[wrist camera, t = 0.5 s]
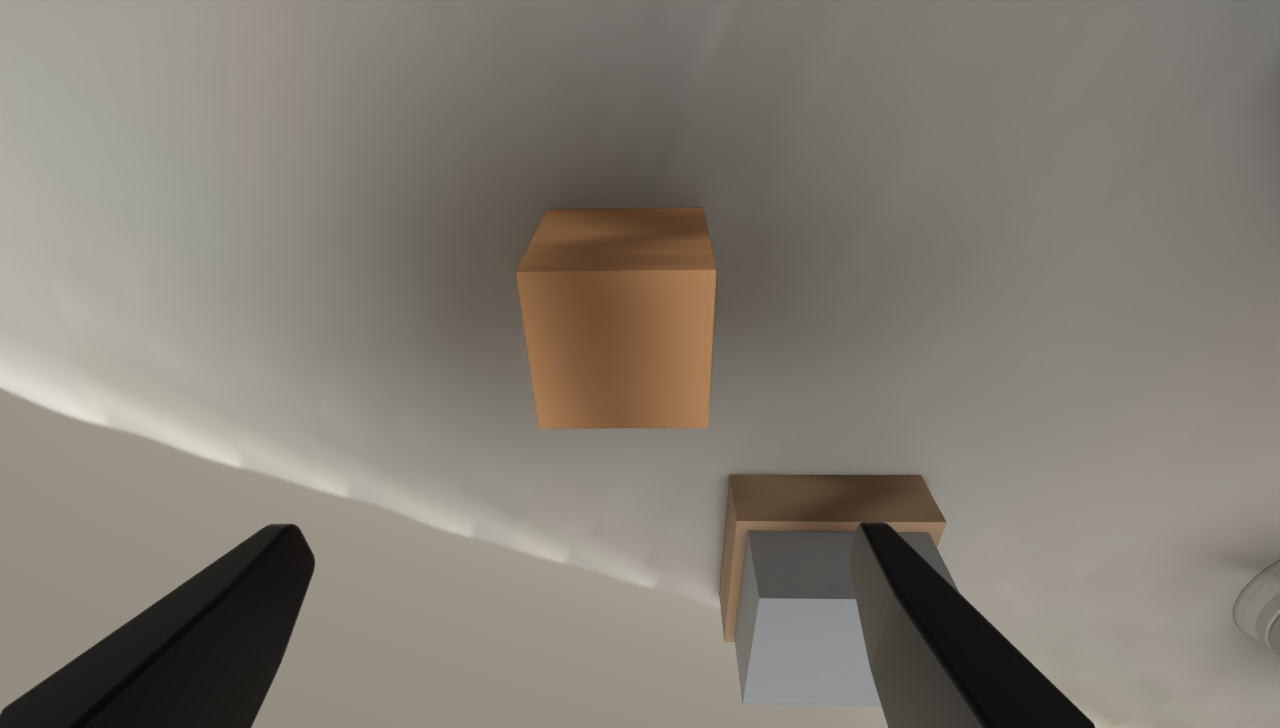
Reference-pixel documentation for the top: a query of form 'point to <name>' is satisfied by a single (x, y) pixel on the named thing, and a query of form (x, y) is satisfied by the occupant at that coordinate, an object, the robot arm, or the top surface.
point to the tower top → (806, 619)
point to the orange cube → (619, 317)
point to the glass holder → (1261, 608)
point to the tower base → (816, 515)
